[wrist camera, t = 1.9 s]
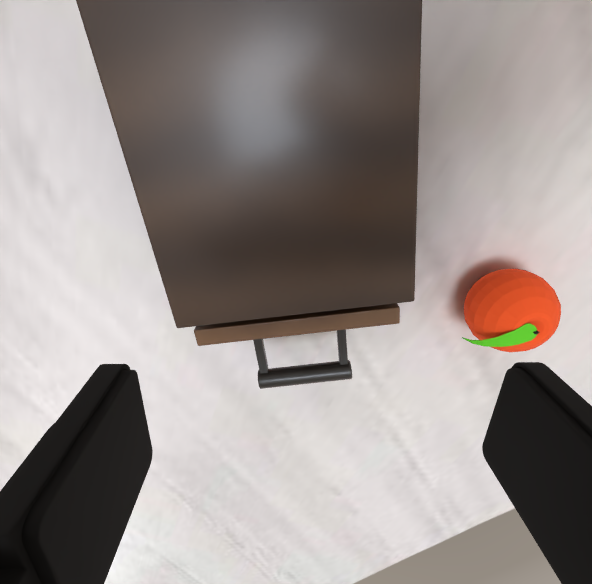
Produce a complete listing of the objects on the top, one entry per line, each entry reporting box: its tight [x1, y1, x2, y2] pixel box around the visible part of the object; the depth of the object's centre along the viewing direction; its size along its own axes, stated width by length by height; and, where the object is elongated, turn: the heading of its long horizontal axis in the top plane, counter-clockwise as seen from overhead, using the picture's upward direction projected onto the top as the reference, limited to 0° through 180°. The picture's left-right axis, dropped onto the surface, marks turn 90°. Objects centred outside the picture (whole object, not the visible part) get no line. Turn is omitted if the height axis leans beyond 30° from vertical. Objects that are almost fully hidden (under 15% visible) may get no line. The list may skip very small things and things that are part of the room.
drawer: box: [194, 303, 400, 389], centre depth 24 cm, size 23×13×9 cm, turn 7°
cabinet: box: [76, 0, 422, 328], centre depth 22 cm, size 19×14×11 cm
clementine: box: [463, 269, 561, 352], centre depth 30 cm, size 8×7×7 cm
